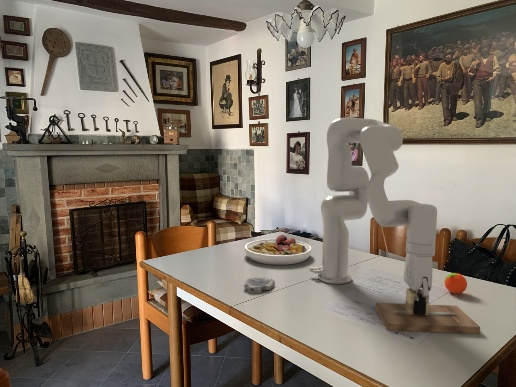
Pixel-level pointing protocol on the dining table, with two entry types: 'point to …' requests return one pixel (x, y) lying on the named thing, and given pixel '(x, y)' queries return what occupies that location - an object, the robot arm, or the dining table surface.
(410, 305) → the block
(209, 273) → the dining table surface
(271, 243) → the bowl
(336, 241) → the robot arm
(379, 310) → the board
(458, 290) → the clementine
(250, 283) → the fossil
